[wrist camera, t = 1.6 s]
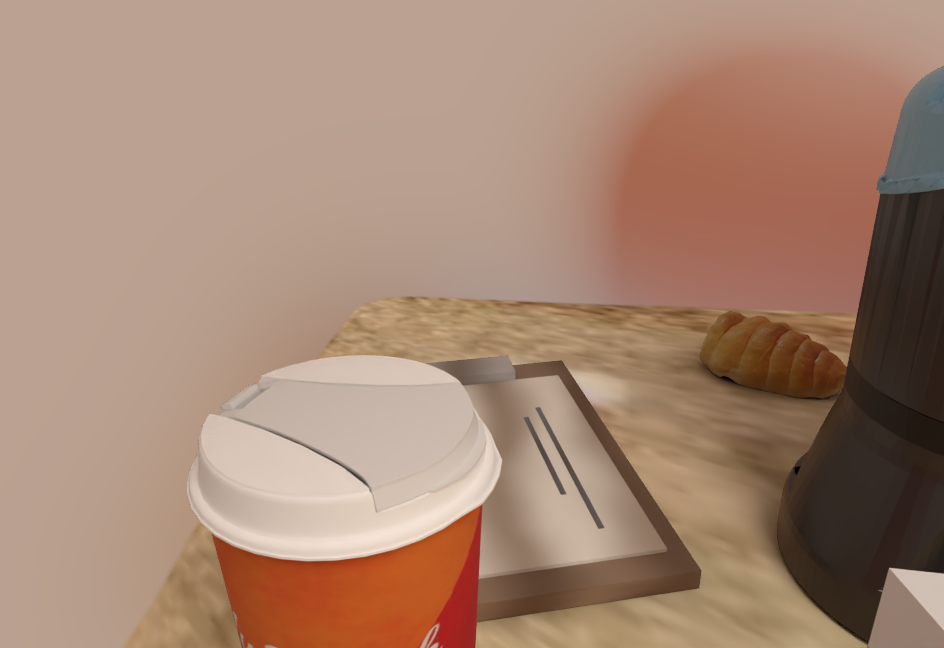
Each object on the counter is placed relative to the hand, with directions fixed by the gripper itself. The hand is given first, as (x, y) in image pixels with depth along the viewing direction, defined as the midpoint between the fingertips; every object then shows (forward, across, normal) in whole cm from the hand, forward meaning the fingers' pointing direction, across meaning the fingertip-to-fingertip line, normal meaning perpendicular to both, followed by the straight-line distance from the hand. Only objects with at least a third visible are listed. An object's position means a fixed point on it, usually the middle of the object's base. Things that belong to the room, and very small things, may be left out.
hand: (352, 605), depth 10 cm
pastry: (+44, +22, -10) cm, 50 cm away
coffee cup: (+13, 0, -17) cm, 21 cm away
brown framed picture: (+32, +3, -13) cm, 35 cm away
